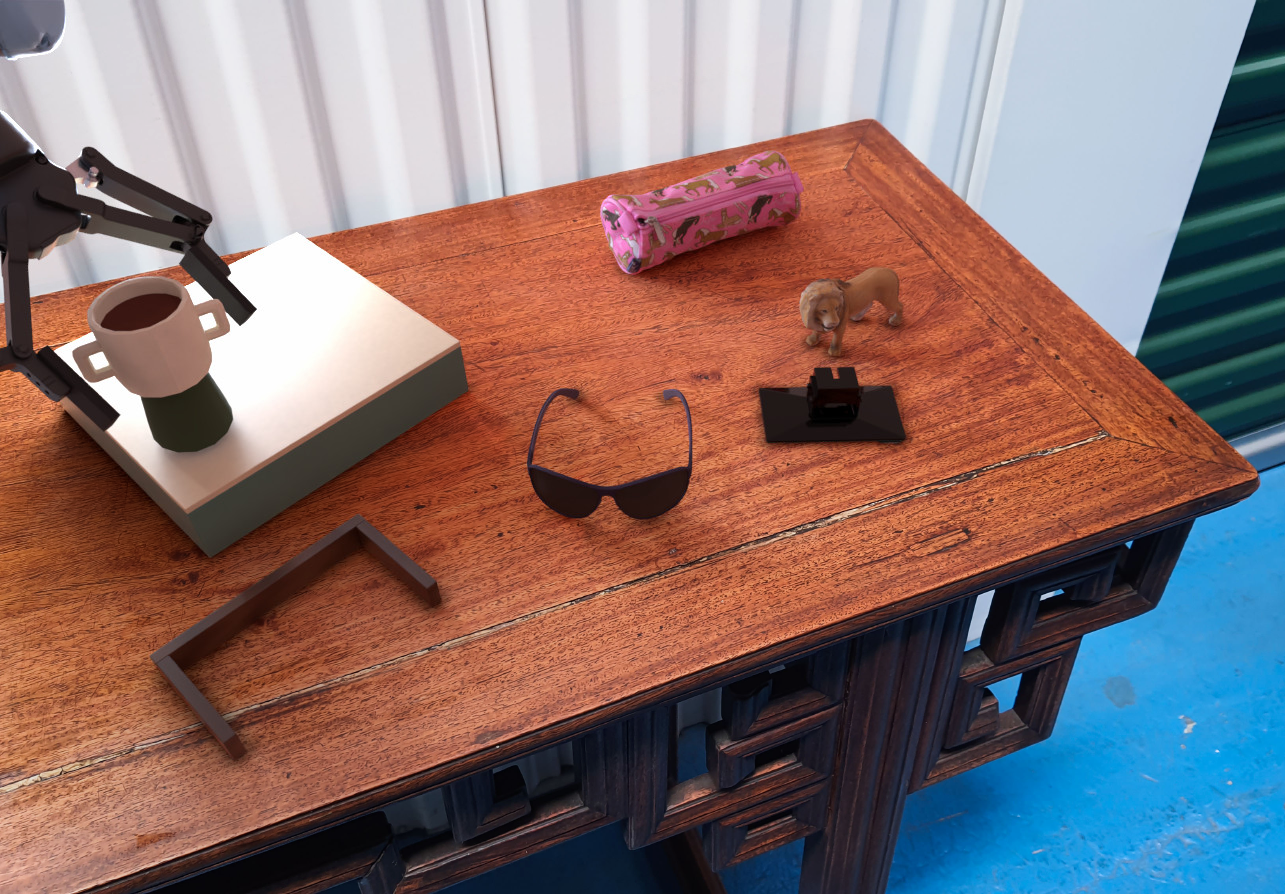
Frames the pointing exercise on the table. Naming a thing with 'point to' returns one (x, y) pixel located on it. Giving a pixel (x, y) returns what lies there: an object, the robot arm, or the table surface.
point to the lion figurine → (847, 303)
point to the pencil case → (701, 211)
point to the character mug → (161, 358)
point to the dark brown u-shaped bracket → (267, 597)
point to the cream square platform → (286, 393)
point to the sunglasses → (631, 498)
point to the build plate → (831, 411)
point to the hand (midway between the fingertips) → (184, 368)
